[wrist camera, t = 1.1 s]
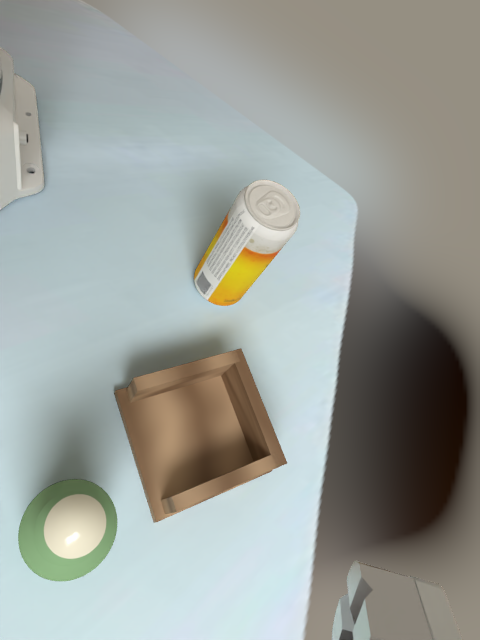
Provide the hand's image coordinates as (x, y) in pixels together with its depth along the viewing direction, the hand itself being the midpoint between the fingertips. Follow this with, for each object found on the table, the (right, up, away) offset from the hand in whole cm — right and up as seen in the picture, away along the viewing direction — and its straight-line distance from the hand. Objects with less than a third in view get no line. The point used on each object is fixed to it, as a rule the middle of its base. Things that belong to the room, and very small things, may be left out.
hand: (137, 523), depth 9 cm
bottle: (-12, -13, +28) cm, 33 cm away
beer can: (-1, +8, +43) cm, 44 cm away
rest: (-3, -7, +35) cm, 36 cm away
